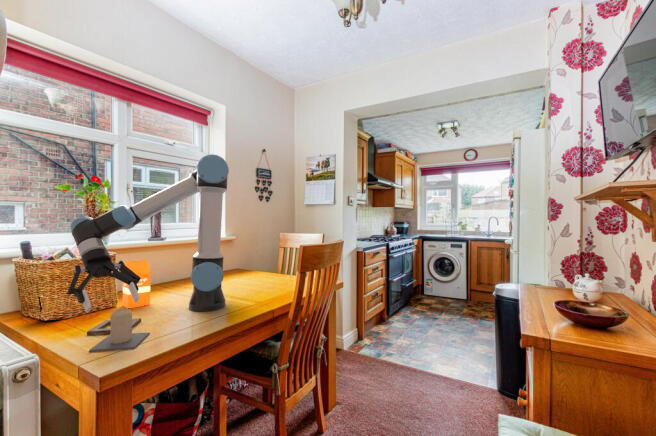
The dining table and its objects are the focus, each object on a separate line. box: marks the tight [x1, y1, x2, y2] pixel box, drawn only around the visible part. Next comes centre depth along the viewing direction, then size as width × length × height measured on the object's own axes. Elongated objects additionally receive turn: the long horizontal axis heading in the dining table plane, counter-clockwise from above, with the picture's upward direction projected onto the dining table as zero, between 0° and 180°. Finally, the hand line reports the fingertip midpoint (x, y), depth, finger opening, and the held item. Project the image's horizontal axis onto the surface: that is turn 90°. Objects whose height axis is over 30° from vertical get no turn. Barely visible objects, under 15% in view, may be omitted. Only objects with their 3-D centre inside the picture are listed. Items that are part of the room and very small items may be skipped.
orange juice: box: [122, 259, 151, 309], centre depth 138 cm, size 8×9×20 cm
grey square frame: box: [86, 317, 142, 336], centre depth 108 cm, size 12×12×1 cm
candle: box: [109, 307, 133, 344], centre depth 95 cm, size 6×6×10 cm
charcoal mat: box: [88, 331, 150, 353], centre depth 95 cm, size 12×12×1 cm
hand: (114, 304), depth 97 cm, fingers open, 13 cm apart
